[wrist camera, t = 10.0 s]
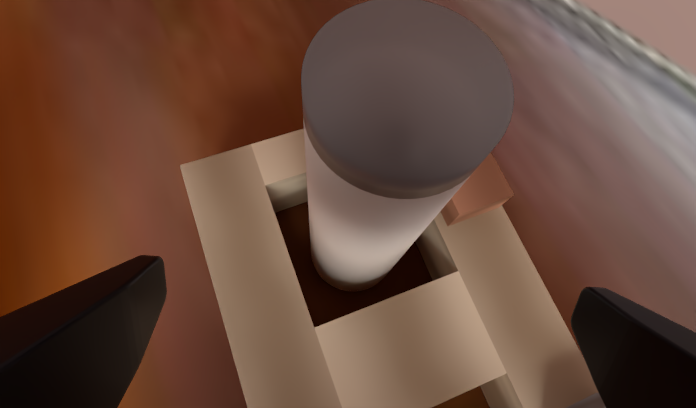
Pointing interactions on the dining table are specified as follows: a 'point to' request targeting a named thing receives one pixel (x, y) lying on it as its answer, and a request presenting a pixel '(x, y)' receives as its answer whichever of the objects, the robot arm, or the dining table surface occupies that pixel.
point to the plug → (393, 129)
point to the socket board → (388, 315)
